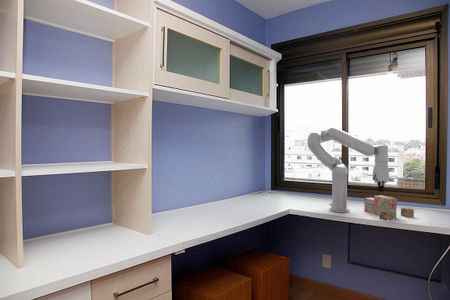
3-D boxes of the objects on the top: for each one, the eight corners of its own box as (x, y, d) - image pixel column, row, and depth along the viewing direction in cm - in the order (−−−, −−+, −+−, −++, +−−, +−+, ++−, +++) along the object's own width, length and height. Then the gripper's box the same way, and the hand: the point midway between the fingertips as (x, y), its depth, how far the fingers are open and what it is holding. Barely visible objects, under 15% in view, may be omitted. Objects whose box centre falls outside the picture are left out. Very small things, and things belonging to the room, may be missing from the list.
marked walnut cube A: (379, 219, 180) (379, 210, 180) (384, 218, 183) (384, 209, 183) (387, 220, 176) (387, 212, 176) (392, 219, 179) (392, 211, 179)
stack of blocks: (364, 211, 203) (364, 193, 203) (371, 210, 205) (371, 193, 205) (388, 218, 182) (388, 198, 182) (396, 217, 184) (396, 198, 184)
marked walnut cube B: (400, 215, 190) (400, 207, 190) (407, 215, 191) (408, 207, 191) (406, 217, 185) (406, 209, 185) (413, 217, 186) (413, 209, 186)
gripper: (384, 163, 199) (384, 190, 199) (368, 163, 194) (367, 191, 194) (394, 163, 192) (394, 191, 192) (377, 164, 187) (377, 193, 187)
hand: (381, 191), depth 193 cm, fingers closed
